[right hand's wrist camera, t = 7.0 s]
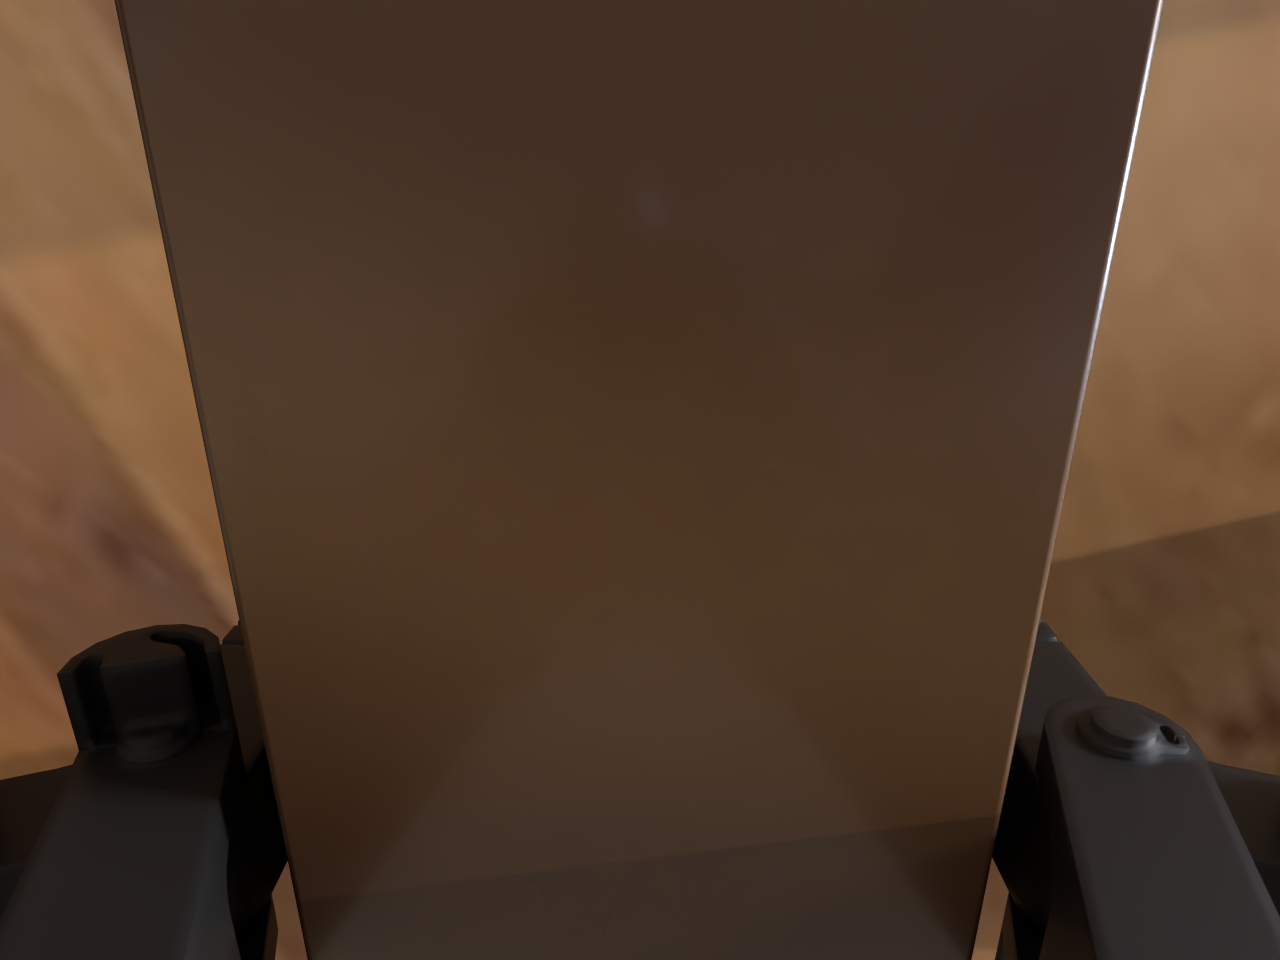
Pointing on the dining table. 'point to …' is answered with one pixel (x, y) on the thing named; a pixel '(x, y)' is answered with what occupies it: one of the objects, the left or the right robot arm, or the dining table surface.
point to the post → (639, 443)
